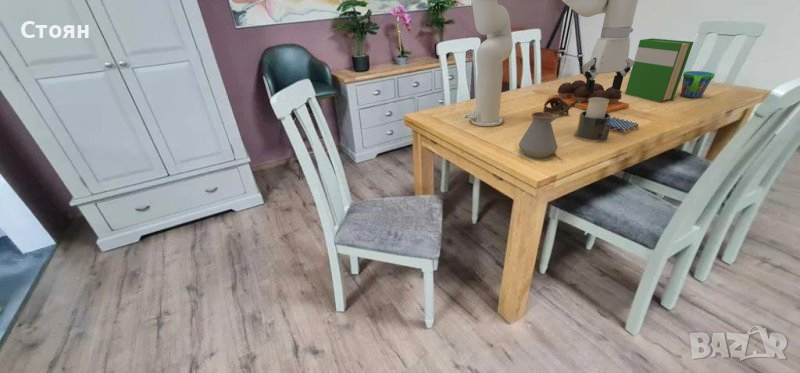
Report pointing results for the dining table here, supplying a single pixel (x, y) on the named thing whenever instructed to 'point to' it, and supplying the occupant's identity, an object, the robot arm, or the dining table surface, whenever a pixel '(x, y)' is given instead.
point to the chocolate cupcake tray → (589, 95)
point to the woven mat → (621, 125)
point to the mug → (593, 127)
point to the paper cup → (597, 107)
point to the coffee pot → (541, 135)
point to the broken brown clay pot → (555, 105)
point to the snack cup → (695, 83)
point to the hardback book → (658, 68)
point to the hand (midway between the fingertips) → (602, 90)
